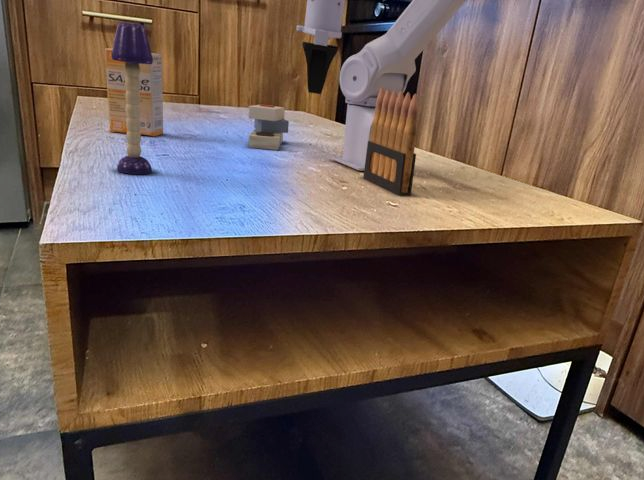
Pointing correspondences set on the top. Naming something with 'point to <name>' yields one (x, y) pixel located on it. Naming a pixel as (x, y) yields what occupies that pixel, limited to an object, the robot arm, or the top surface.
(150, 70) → the supplement box
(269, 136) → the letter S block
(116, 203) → the top surface
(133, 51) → the toy lamp
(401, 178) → the ammunition clip
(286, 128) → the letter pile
